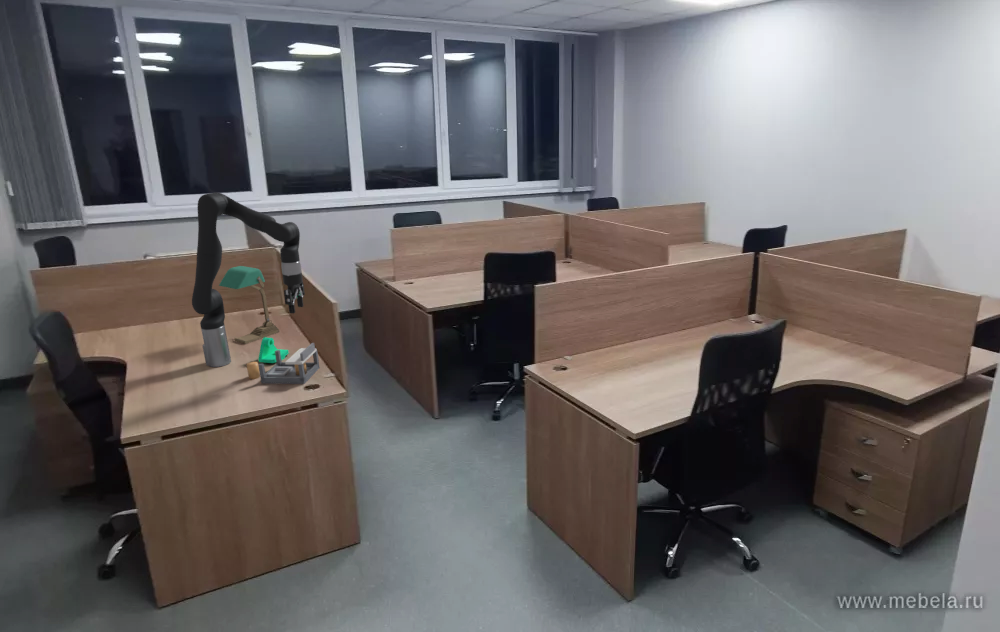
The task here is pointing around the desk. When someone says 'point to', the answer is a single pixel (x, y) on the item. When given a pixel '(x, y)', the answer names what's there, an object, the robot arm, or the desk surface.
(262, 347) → the camera mount
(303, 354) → the lid
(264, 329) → the banker's lamp
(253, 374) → the tan egg
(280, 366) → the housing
